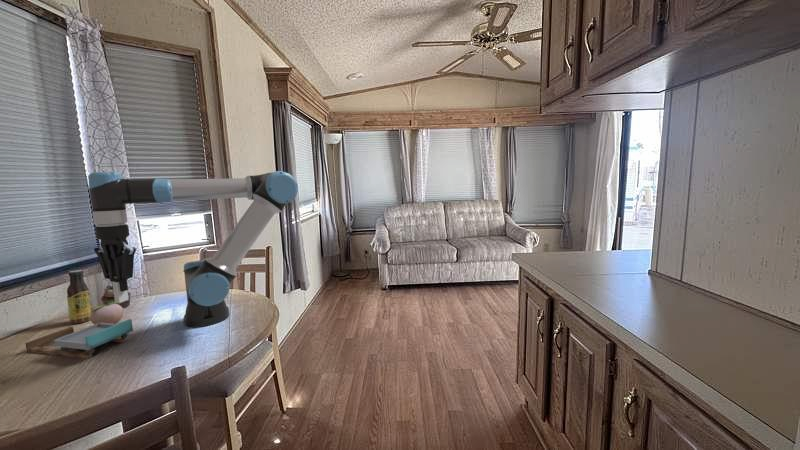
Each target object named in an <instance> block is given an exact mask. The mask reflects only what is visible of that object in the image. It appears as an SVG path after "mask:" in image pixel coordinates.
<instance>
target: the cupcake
mask: <svg viewBox="0 0 800 450" xmlns="http://www.w3.org/2000/svg"><path fill="white" fill-rule="evenodd" d="M103 290H104V292H103V296H102V297H101V298H100V299H101V300H100V301H101V302H102V305H106V303H105V302H107V304H108V303H111V302H115V298H114V291H113V287H112V285H107V286H106V287H105V288H103ZM127 291H128V298H129V300H127V301H124V302H121V304H118V303H117V304H118V305H120V306H121V307H122V308H124V309H126V308H128V307H130V306H131V305H130V303H131V296H132V294H131V293H130V292H129V289H128V290H127Z"/></svg>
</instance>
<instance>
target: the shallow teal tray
mask: <svg viewBox="0 0 800 450" xmlns="http://www.w3.org/2000/svg"><path fill="white" fill-rule="evenodd" d="M133 331H134V328H133V322H132V319H131V318H128V319H125V320H124V321H121V322H117V323H116V324H110V323H97V324H93V325H89V326H87V327H84V328H81V329H79V330H77V331H74V332H73V333H71V334H68V335H65V336H63V337H60V338H58V339H55V340H53V344H52V345H53V347H58V348H59V347H60V350H62V351H66V350H69V349H75V350H76V349H77V350H85V352H86V353H87V354H91V353H92V354H93V353H94V352H95V348H96V347H99V346H102V345H103V344H106V343H108V342H109V341H111V340H113V339H115V338H117V337H121V338H122V339H124V338H126V339H127V338H128V337H129V335H128V333H130V332H133Z"/></svg>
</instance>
